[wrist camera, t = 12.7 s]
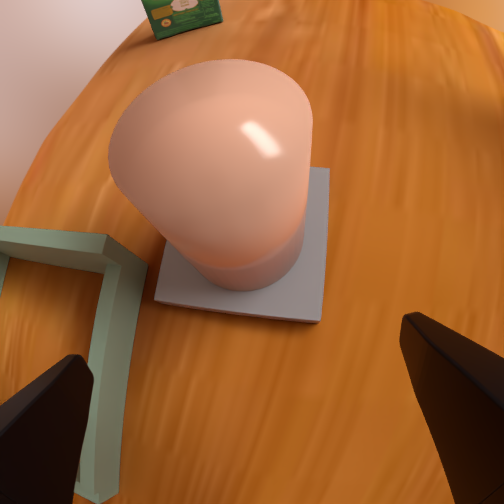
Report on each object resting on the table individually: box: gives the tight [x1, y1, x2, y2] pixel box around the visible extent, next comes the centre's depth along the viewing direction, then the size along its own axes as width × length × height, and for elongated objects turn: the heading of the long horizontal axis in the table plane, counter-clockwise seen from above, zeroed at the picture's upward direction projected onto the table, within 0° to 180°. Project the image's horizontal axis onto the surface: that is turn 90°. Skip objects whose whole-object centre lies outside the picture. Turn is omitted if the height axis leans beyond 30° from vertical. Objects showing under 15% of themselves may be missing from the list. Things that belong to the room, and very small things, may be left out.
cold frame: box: [0, 226, 148, 504], centre depth 15 cm, size 16×16×5 cm
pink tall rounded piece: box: [108, 59, 313, 291], centre depth 13 cm, size 6×6×9 cm
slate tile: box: [154, 167, 330, 323], centre depth 18 cm, size 9×9×1 cm
